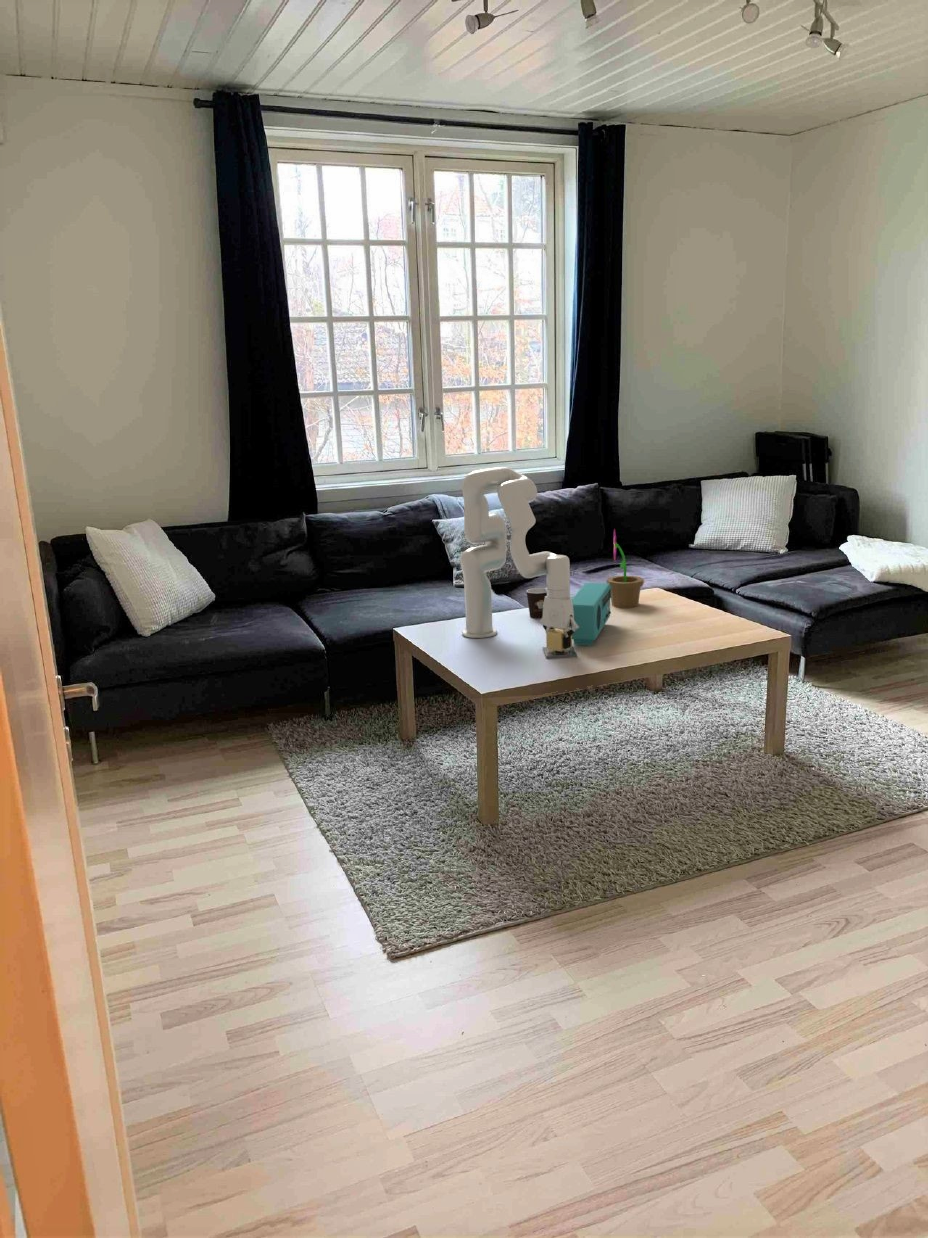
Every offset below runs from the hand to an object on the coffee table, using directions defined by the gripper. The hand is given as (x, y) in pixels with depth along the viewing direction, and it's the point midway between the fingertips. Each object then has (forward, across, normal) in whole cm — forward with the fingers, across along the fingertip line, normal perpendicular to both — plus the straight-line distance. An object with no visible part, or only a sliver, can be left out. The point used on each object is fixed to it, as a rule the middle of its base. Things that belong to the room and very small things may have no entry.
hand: (559, 645), depth 315 cm
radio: (+3, -5, +25) cm, 25 cm away
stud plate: (+3, 0, 0) cm, 3 cm away
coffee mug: (+3, -35, +35) cm, 49 cm away
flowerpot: (+3, -18, +66) cm, 69 cm away
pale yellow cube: (+1, 0, 0) cm, 1 cm away
